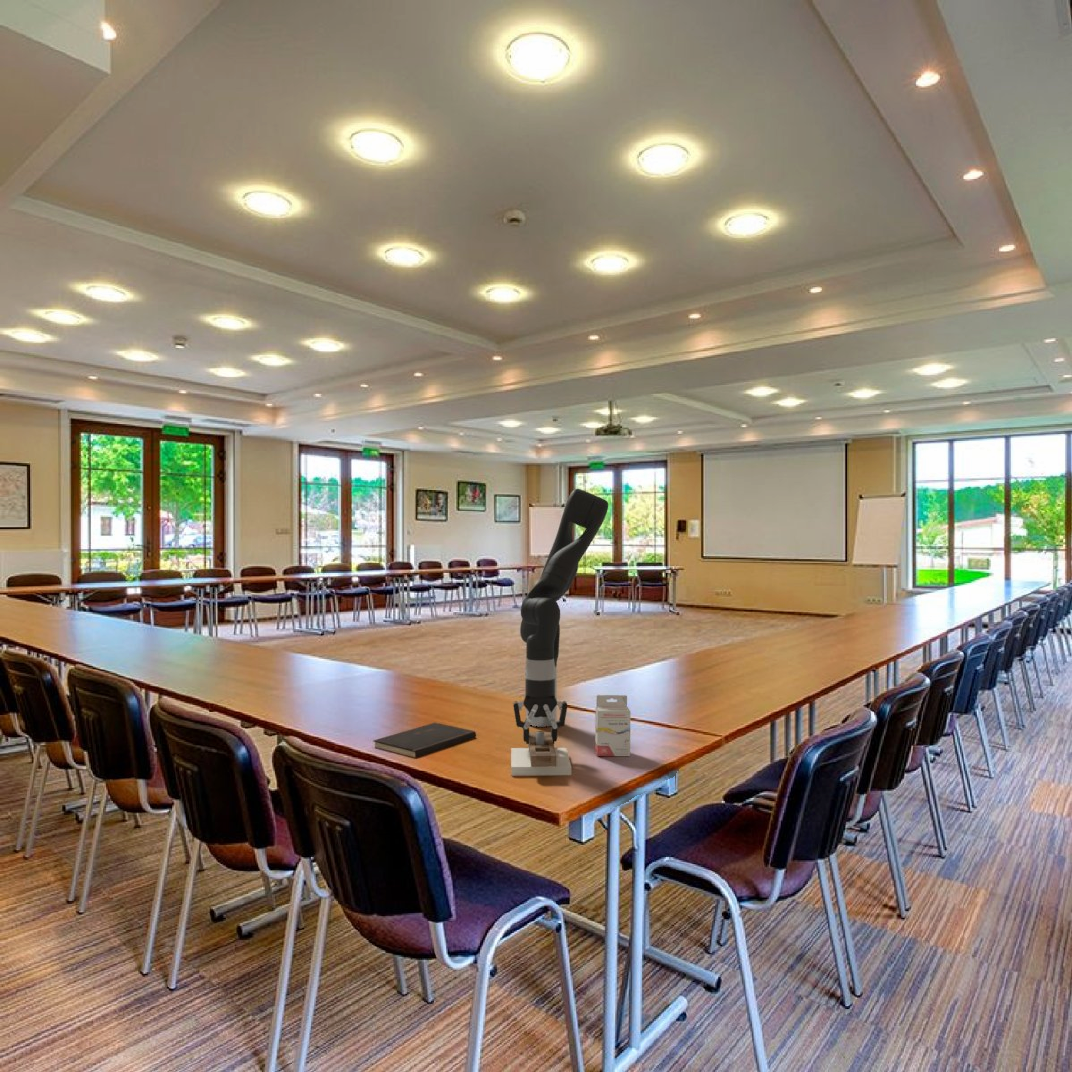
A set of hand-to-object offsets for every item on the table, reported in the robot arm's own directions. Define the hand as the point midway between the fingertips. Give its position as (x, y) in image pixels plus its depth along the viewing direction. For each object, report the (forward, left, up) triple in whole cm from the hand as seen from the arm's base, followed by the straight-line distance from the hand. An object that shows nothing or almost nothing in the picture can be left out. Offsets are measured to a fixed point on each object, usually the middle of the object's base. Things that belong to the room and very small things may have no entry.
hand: (540, 742), depth 175 cm
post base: (+6, 0, -4) cm, 7 cm away
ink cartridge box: (-2, +19, -4) cm, 19 cm away
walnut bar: (+6, 0, -1) cm, 7 cm away
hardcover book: (-14, -31, -4) cm, 34 cm away
